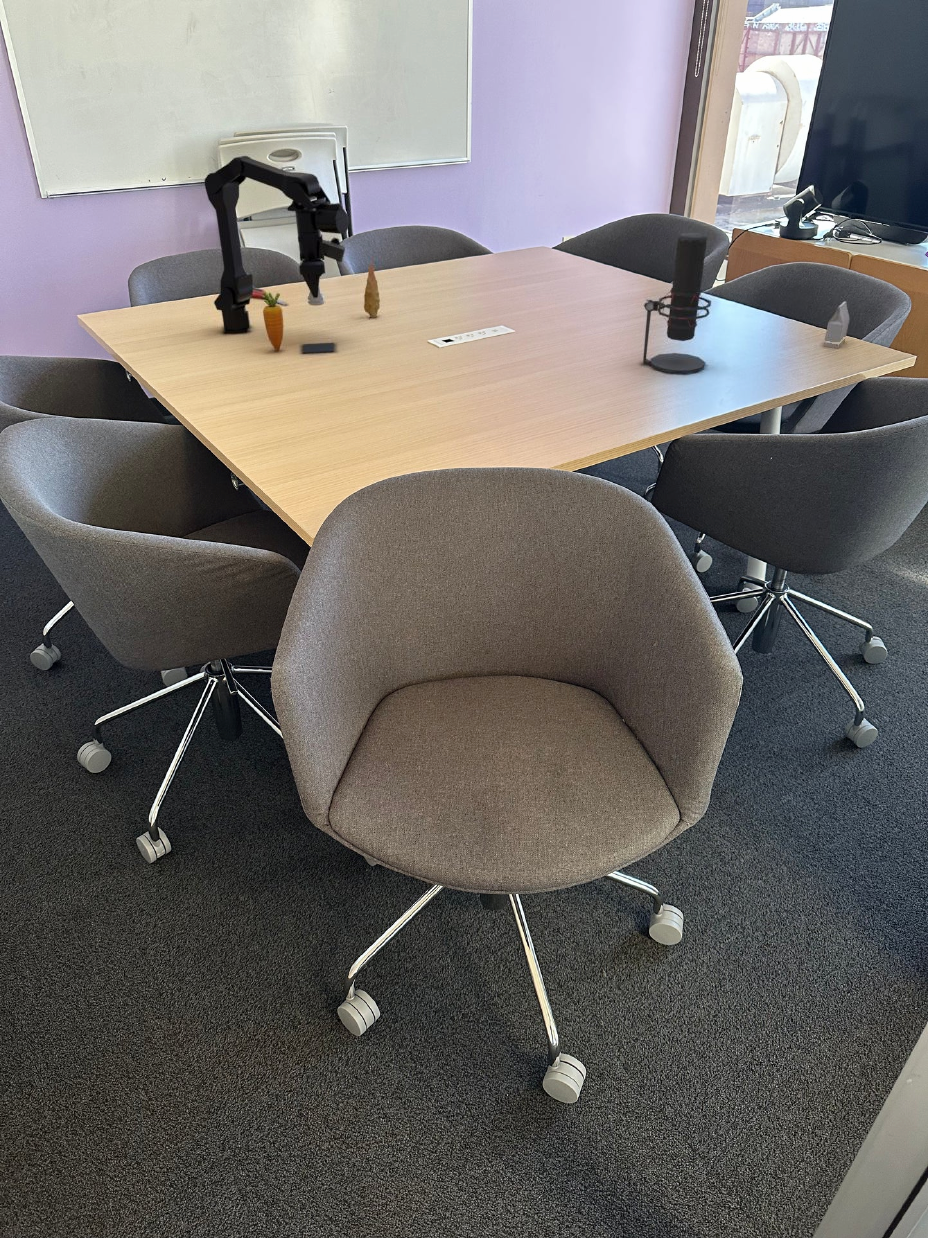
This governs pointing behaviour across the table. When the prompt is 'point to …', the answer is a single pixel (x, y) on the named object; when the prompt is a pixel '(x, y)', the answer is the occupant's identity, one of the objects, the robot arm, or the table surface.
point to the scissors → (259, 294)
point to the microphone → (681, 305)
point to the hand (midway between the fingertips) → (315, 295)
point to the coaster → (318, 348)
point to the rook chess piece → (316, 299)
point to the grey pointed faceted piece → (837, 327)
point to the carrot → (273, 320)
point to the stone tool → (371, 294)
